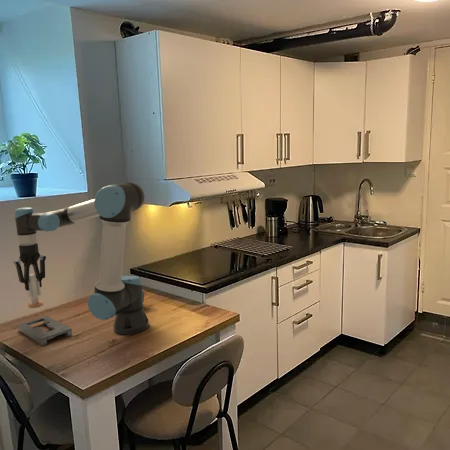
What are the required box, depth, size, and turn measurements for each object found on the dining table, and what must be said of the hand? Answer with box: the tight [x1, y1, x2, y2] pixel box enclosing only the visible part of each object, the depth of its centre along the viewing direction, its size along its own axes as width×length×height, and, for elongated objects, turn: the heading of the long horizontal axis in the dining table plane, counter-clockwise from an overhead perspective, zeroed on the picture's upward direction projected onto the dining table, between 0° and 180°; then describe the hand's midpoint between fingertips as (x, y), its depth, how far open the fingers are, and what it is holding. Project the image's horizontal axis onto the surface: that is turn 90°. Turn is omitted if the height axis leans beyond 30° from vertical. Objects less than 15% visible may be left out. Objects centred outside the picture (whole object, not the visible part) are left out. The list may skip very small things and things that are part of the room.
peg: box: [27, 273, 44, 309], centre depth 195 cm, size 6×6×14 cm
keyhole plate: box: [17, 315, 73, 347], centre depth 194 cm, size 24×13×3 cm, turn 46°
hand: (34, 295), depth 196 cm, fingers closed on peg, 3 cm apart
